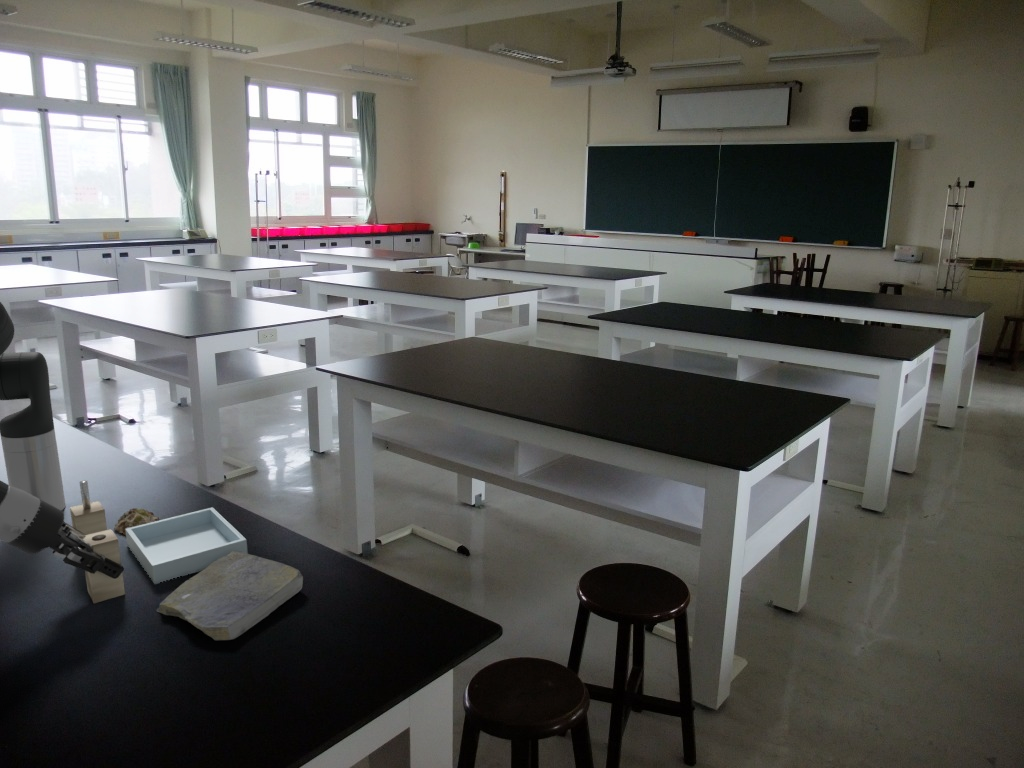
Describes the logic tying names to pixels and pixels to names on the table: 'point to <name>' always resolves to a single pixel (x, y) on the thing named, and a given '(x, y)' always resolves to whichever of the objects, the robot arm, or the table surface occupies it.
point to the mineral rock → (134, 519)
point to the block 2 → (100, 583)
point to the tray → (183, 543)
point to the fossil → (233, 594)
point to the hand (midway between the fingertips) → (115, 566)
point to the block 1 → (88, 514)
